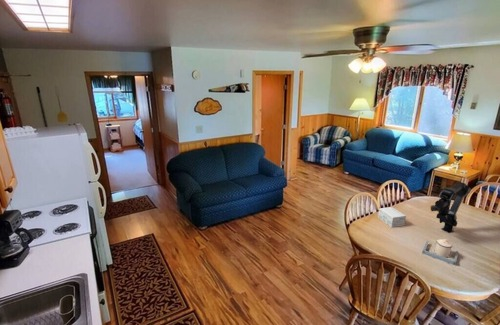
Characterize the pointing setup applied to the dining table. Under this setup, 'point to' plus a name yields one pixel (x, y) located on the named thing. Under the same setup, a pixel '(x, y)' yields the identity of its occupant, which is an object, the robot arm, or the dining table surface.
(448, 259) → the dock
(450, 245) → the teacup with lid
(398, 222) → the supplement box
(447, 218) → the robot arm
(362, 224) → the dining table surface
